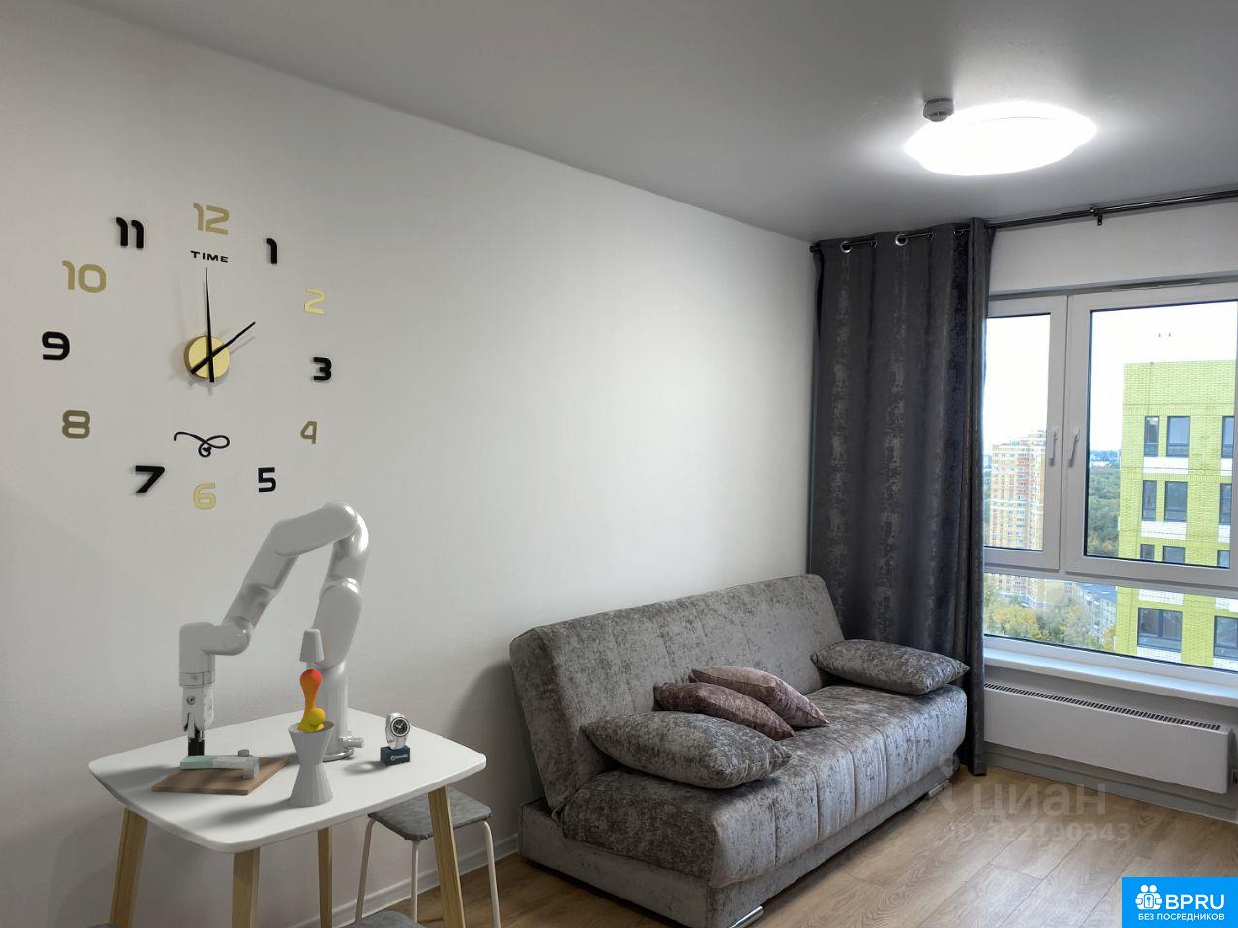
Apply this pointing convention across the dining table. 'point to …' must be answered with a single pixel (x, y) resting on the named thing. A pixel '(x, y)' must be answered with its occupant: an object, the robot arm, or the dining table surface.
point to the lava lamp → (311, 732)
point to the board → (220, 778)
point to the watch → (396, 740)
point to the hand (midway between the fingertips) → (196, 757)
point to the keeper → (239, 765)
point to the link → (200, 761)
